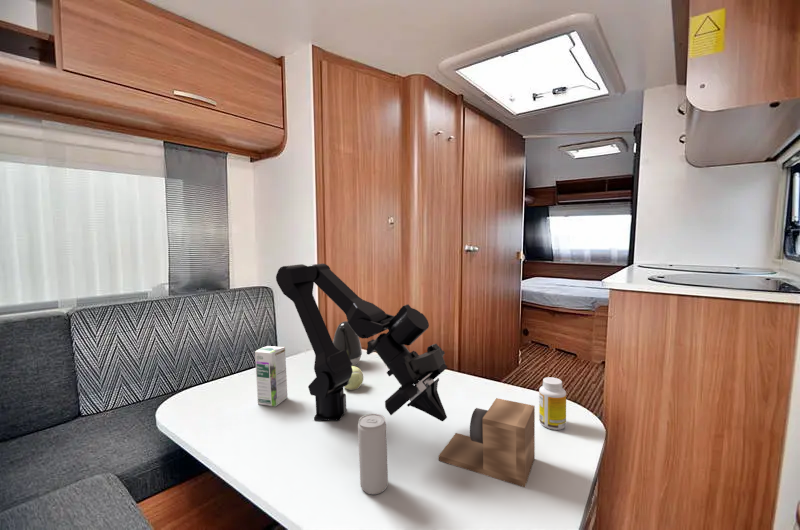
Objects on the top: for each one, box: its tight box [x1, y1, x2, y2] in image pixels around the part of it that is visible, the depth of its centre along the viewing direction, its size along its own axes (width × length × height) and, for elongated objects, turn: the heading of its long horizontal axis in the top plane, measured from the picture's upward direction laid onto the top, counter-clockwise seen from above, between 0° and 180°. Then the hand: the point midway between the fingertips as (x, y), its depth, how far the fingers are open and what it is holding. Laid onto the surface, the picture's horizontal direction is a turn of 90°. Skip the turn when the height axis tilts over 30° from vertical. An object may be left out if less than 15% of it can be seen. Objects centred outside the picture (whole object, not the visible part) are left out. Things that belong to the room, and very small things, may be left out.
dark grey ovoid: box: [332, 320, 363, 367], centre depth 122 cm, size 10×10×15 cm
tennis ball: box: [343, 365, 364, 391], centre depth 104 cm, size 6×7×7 cm
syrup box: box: [254, 345, 289, 407], centre depth 97 cm, size 6×6×14 cm
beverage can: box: [357, 413, 389, 496], centre depth 62 cm, size 5×5×12 cm
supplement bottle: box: [538, 376, 567, 431], centre depth 81 cm, size 6×6×10 cm
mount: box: [438, 397, 536, 488], centre depth 69 cm, size 16×9×10 cm, turn 60°
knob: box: [469, 407, 489, 444], centre depth 68 cm, size 8×6×6 cm
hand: (444, 419), depth 73 cm, fingers closed
